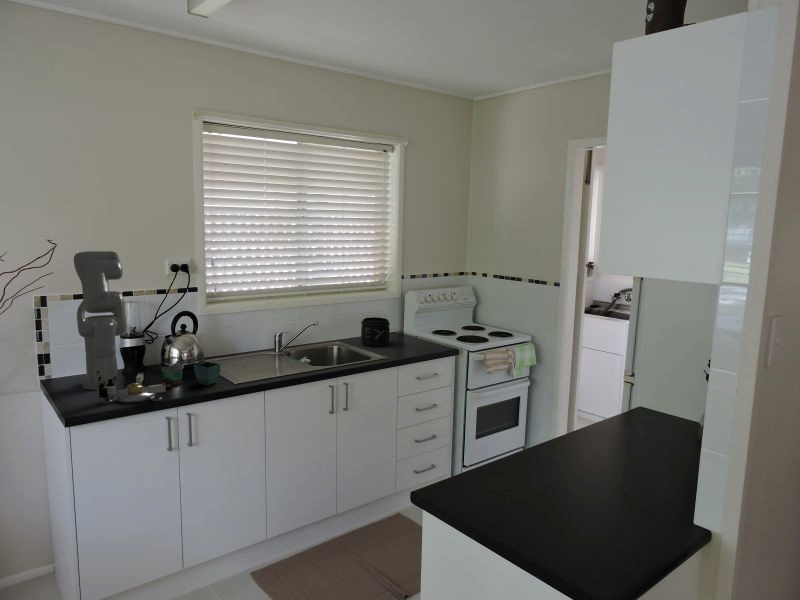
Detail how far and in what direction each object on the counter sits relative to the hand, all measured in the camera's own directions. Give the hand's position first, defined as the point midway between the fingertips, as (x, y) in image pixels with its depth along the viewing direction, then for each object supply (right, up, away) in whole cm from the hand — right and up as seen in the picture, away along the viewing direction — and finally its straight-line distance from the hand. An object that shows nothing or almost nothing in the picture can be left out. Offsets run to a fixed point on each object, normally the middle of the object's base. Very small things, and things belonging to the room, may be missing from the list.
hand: (107, 395), depth 234 cm
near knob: (0, -2, 0) cm, 2 cm away
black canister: (+104, +11, +121) cm, 160 cm away
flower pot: (+31, 0, +30) cm, 43 cm away
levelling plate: (+10, -2, +7) cm, 13 cm away
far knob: (+18, -2, +5) cm, 19 cm away
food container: (+18, 0, +26) cm, 31 cm away
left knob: (+5, +1, +18) cm, 19 cm away
